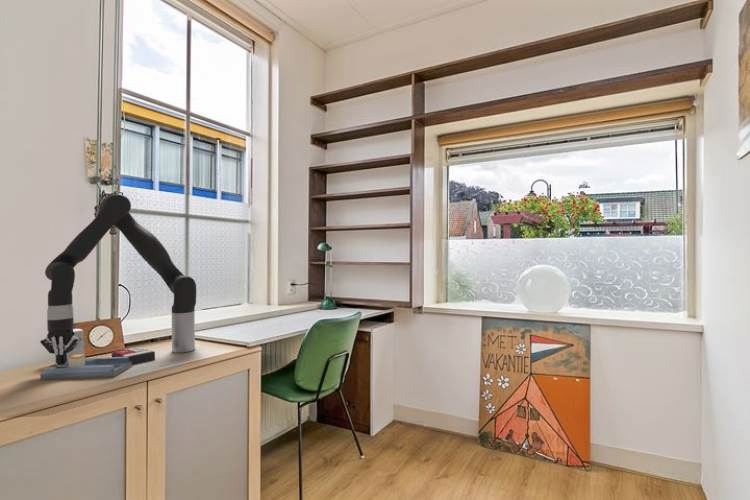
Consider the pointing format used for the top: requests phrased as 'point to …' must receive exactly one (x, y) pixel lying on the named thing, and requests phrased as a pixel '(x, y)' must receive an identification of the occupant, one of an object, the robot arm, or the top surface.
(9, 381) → the top surface
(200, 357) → the top surface
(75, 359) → the breaker toggle
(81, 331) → the small box
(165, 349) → the top surface
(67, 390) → the top surface
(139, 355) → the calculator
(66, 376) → the panel
